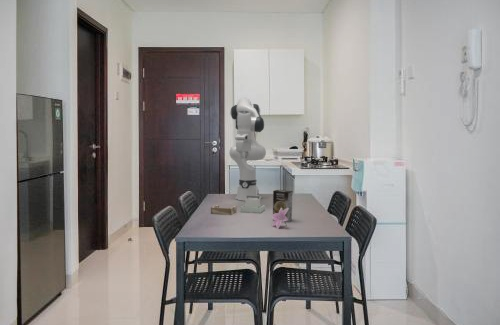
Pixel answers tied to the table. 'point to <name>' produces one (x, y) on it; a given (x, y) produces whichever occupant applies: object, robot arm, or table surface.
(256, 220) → the table surface
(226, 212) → the bay
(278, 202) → the coffee box
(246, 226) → the table surface
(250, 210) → the tray
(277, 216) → the lily
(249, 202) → the white block
